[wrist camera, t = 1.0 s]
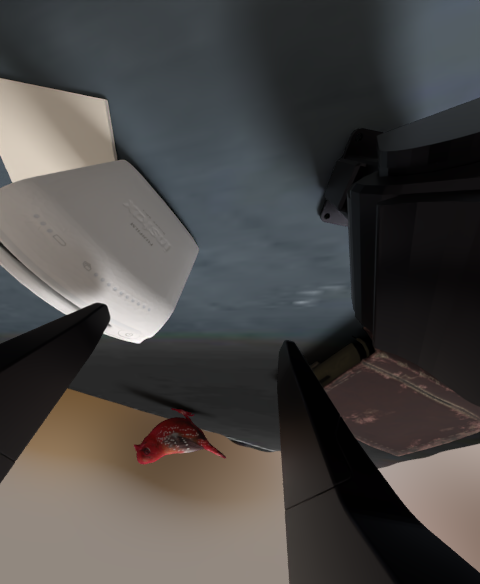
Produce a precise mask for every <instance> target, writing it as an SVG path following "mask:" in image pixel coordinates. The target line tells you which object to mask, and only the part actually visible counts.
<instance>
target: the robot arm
mask: <svg viewBox="0 0 480 584" xmlns="http://www.w3.org/2000/svg"><path fill="white" fill-rule="evenodd" d="M359 133H360V134H361V139H360V140H359V141H358V142H357V141H356V139H355V138H356V136H357V134H359ZM324 196H325V199H326V201H325V203H324V206H323V208H322V211H321V214H320V218H321V220H322V221H323V222H327V223H332V224H337V225H342V226H347V227H348V231H349V252H350V274H351V296H352V304H353V309H354V311H355V317H356V318H357V319H358V320H359V322H360V323H361V324H362V325H363V326H364V327H366V328H367V329H368V330H370V331H371V332H372V333H373V343H372V345H373V347H374V348H376V349H379V350H382V351H385V352H389V353H392V354H395V355H398V356H400V357H402V358H404V359H406V360H408V361H410V362H412V363H414V364H416V365H418V366H420V367H421V368H423V369H424V370H425V371H427V372H428V373H430V374H431V375H433V376H434V377H435V378H437V379H438V380H439V381H441V382H442V383H443V384H445V385H446V386H447V387H449V388H450V389H451V390H453V391H454V392H455V393H457V394H458V395H459V396H461V397H462V398H463V399H465V400H466V401H468V402H470V403H472V404H474V405H476V406H479V407H480V98H477V99H475V100H472V101H469V102H466V103H464V104H461V105H458V106H456V107H453V108H450V109H448V110H445V111H442V112H439V113H437V114H434V115H431V116H429V117H426V118H423V119H420V120H418V121H415V122H412V123H410V124H407V125H404V126H401V127H399V128H396V129H393V130H391V131H388V132H385V133H383V132H378V131H373V130H368V129H363V128H361V129H357V130H355V131H354V132H353V133H352V134H351V136H350V139H349V141H348V144H347V147H346V149H345V152H344V154H343V157H342V158H341V159H339V160H338V161H337V162H336V165H335V167H334V170H333V173H332V175H331V178H330V181H329V183H328V186H327V189H326V191H325V194H324ZM326 213H329V216H328V217H327V218H324V215H325V214H326ZM109 322H110V313H109V310H108V306H107V305H106V304H103V303H93V304H91V305H89V306H86V307H84V308H82V309H80V310H77V311H75V312H73V313H70V314H68V315H66V316H63V317H61V318H59V319H56V320H54V321H52V322H50V323H47V324H45V325H43V326H40V327H38V328H36V329H33V330H31V331H29V332H26V333H24V334H22V335H20V336H17V337H15V338H13V339H10V340H8V341H6V342H3V343H1V344H0V483H1V481H2V480H3V479H4V477H5V476H6V475H7V473H8V472H9V470H10V469H11V467H12V466H13V465H14V463H15V461H16V460H17V459H18V457H19V456H20V454H21V453H22V451H23V450H24V449H25V447H26V446H27V445H28V443H29V442H30V440H31V439H32V437H33V436H34V435H35V433H36V432H37V430H38V429H39V427H40V426H41V425H42V423H43V422H44V420H45V419H46V418H47V416H48V414H49V413H50V412H51V410H52V409H53V408H54V406H55V405H56V403H57V402H58V401H59V399H60V398H61V396H62V395H63V393H64V392H65V391H66V389H67V388H68V386H69V385H70V383H71V382H72V381H73V379H74V378H75V376H76V375H77V374H78V372H79V371H80V369H81V368H82V366H83V365H84V364H85V362H86V361H87V359H88V358H89V356H90V355H91V354H92V352H93V350H94V349H95V347H96V345H97V344H98V342H99V340H100V338H101V336H102V335H103V333H104V331H105V329H106V327H107V326H108V324H109ZM277 394H278V409H279V425H280V441H281V456H282V472H283V487H284V502H285V522H286V537H287V553H288V569H289V584H480V573H479V572H478V571H477V570H476V569H475V568H473V567H472V566H471V565H470V564H469V563H467V562H466V561H465V560H464V559H463V558H461V557H460V556H459V555H458V554H457V553H456V552H454V551H453V550H452V549H451V548H450V547H448V546H447V545H446V544H445V543H444V542H442V541H441V540H440V539H439V538H438V537H437V536H435V535H434V534H433V533H432V532H430V530H428V529H427V528H426V527H425V526H424V525H423V524H422V523H421V522H420V521H419V520H418V519H417V518H416V517H415V516H414V515H413V514H412V513H411V512H410V511H409V510H408V508H407V507H406V506H405V505H404V504H403V502H402V501H401V500H400V498H399V497H398V496H397V495H396V493H395V492H394V490H393V489H392V488H391V486H390V485H389V484H388V482H387V481H386V480H385V478H384V477H383V476H382V474H381V473H380V471H379V470H378V469H377V467H376V466H375V465H374V463H373V462H372V461H371V459H370V458H369V457H368V455H367V454H366V452H365V451H364V450H363V448H362V447H361V445H360V444H359V443H358V441H357V440H356V438H355V437H354V435H353V434H352V432H351V431H350V429H349V428H348V426H347V424H346V423H345V421H344V420H343V418H342V417H341V416H340V413H339V412H338V410H337V409H336V407H335V406H334V404H333V402H332V401H331V399H330V398H329V396H328V395H327V393H326V391H325V390H324V388H323V387H322V385H321V383H320V382H319V380H318V379H317V377H316V376H315V374H314V372H313V371H312V369H311V368H310V366H309V364H308V363H307V361H306V360H305V358H304V357H303V355H302V353H301V352H300V350H299V349H298V347H297V346H296V344H295V343H294V342H293V341H289V340H285V341H284V343H283V345H282V347H281V349H280V351H279V360H278V380H277Z"/></svg>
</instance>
